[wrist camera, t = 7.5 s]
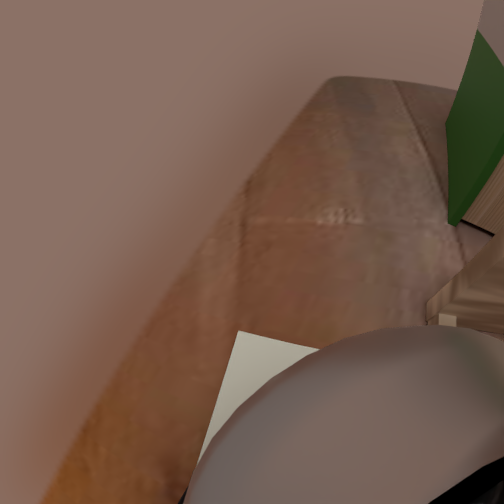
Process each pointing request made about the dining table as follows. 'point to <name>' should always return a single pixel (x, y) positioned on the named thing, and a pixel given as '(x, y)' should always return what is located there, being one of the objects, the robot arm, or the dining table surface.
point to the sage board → (250, 374)
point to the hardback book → (479, 129)
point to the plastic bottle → (368, 426)
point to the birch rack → (474, 293)
